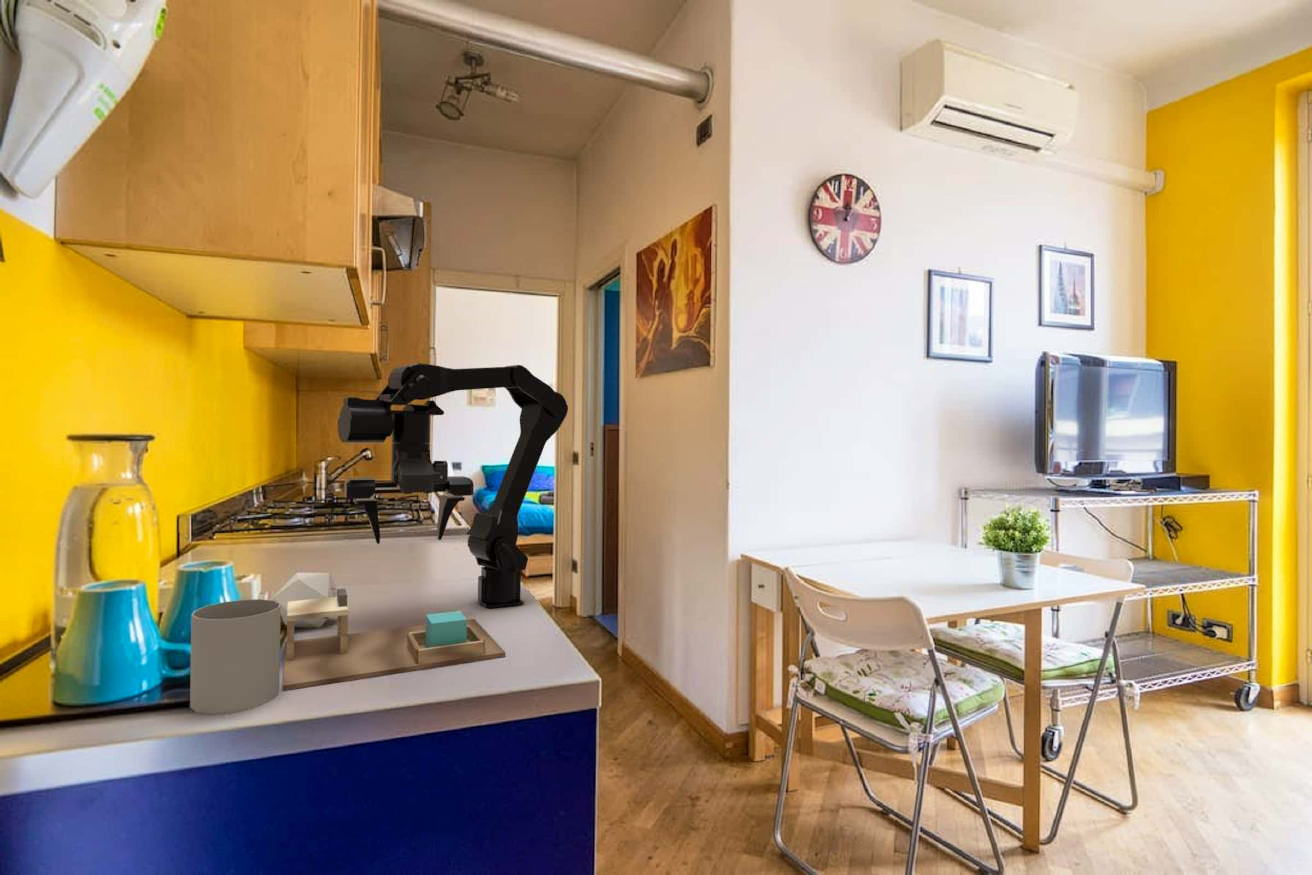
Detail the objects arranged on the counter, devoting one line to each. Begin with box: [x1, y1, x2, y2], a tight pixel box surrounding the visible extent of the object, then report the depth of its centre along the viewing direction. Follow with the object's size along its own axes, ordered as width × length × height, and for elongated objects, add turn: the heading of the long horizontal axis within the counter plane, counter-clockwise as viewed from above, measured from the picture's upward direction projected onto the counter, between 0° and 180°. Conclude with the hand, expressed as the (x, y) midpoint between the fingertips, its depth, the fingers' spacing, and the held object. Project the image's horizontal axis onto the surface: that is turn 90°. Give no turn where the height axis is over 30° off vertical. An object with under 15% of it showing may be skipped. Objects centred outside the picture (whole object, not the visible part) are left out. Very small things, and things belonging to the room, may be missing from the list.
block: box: [425, 610, 468, 648], centre depth 88 cm, size 4×4×4 cm
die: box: [272, 572, 338, 628], centre depth 100 cm, size 8×9×10 cm
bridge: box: [286, 588, 349, 660], centre depth 88 cm, size 7×8×7 cm
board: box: [282, 618, 506, 692], centre depth 89 cm, size 26×17×2 cm, turn 119°
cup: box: [189, 598, 281, 715], centre depth 73 cm, size 8×8×10 cm
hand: (409, 541), depth 103 cm, fingers open, 9 cm apart
